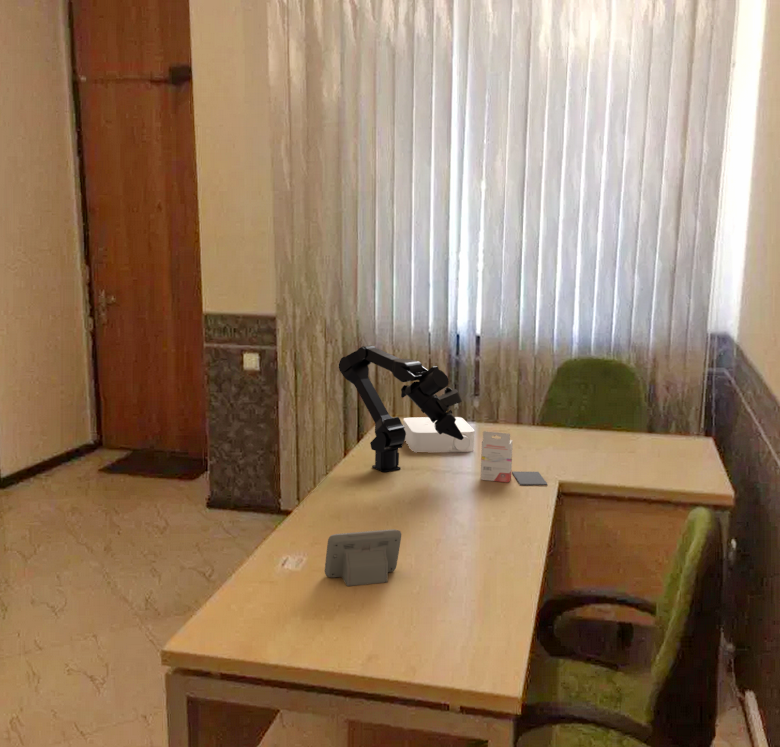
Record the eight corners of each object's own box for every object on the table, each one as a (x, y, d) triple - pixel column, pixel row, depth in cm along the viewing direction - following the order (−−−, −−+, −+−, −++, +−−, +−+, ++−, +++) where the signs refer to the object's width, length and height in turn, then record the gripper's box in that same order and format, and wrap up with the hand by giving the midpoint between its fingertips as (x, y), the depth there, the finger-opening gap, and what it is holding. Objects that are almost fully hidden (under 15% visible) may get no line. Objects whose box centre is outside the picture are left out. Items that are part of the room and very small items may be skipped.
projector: (413, 454, 284) (413, 434, 283) (401, 436, 306) (402, 417, 305) (476, 453, 287) (477, 433, 286) (460, 436, 309) (461, 416, 308)
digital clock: (398, 568, 194) (399, 522, 192) (402, 586, 185) (403, 538, 183) (324, 569, 192) (324, 523, 190) (324, 587, 183) (325, 538, 181)
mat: (519, 485, 254) (520, 483, 254) (512, 473, 266) (512, 471, 266) (547, 485, 255) (547, 483, 255) (538, 473, 267) (538, 471, 266)
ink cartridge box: (511, 478, 261) (514, 430, 258) (508, 483, 256) (511, 434, 254) (483, 475, 263) (485, 427, 261) (479, 479, 259) (482, 431, 256)
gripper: (449, 387, 244) (487, 426, 247) (442, 374, 263) (477, 411, 265) (420, 414, 245) (458, 453, 248) (414, 400, 264) (450, 436, 266)
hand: (461, 437), depth 257 cm, fingers open, 4 cm apart
